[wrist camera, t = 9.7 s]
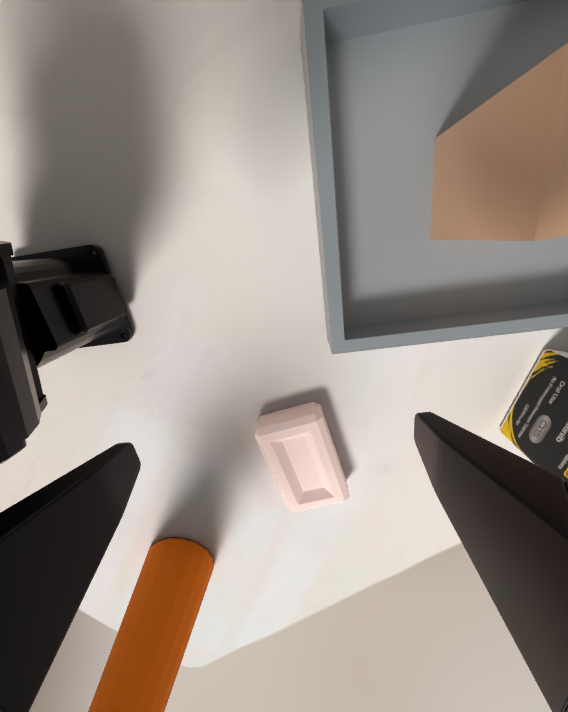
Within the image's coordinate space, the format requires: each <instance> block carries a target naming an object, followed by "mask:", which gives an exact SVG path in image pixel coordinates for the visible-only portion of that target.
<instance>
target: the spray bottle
mask: <svg viewBox="0 0 568 712" xmlns="http://www.w3.org/2000/svg"><path fill="white" fill-rule="evenodd" d="M213 568H214V566H213V560H212V556H211V555H210V554H209V553H208V551H207V550H206V549H205V548H203V547H202V546H200V545H199V544H197V543H196V542H193V541H189V540H186V539H181V538H169V539H165V540H161V541H158V542H157V543H156V544H154V545H153V546H152V547H151V548H150V549H149V551H148V554H147V557H146V559H145V562H144V565H143V567H142V570H141V573H140V575H139V578H138V581H137V583H136V586H135V589H134V591H133V594H132V597H131V599H130V602H129V605H128V607H127V610H126V613H125V615H124V618H123V621H122V623H121V626H120V629H119V631H118V634H117V637H116V639H115V642H114V645H113V647H112V650H111V653H110V655H109V658H108V661H107V663H106V666H105V669H104V671H103V674H102V677H101V679H100V682H99V685H98V687H97V690H96V693H95V695H94V698H93V701H92V703H91V706H90V709H89V711H88V712H164V711H165V707H166V705H167V702H168V699H169V696H170V693H171V690H172V687H173V684H174V681H175V678H176V676H177V673H178V670H179V667H180V664H181V661H182V658H183V655H184V652H185V649H186V647H187V644H188V641H189V638H190V635H191V632H192V629H193V626H194V623H195V620H196V617H197V615H198V612H199V609H200V606H201V603H202V600H203V597H204V594H205V591H206V588H207V585H208V583H209V580H210V577H211V574H212V571H213Z"/></svg>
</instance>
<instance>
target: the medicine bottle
mask: <svg viewBox="0 0 568 712" xmlns="http://www.w3.org/2000/svg"><path fill="white" fill-rule="evenodd" d="M500 431H501V433H502V434H504V435H505V436H506V437H507V438H508V439H509V440H510V441H511V442H512V443H513V444H514V445H515V446H516V447H517V448H518V449H519V450H520V451H521V452H523V453H524V454H525V455H526V456H527V457H528V458H529V459H530V460H531V461H532V462H533V463H534V464H535V465H537V466H539V467H541V468H543V469H545V470H547V471H549V472H551V473H553V474H555V475H557V476H559V477H561V478H563V480H564V481H565V480H567V481H568V352H563V351H557V350H551V349H546V350H544V351H543V352H542V354H541V355H540V357H539V359H538V361H537V363H536V364H535V366H534V368H533V370H532V371H531V373H530V375H529V377H528V379H527V380H526V382H525V384H524V386H523V387H522V389H521V391H520V393H519V395H518V396H517V398H516V400H515V402H514V403H513V405H512V407H511V409H510V411H509V412H508V414H507V416H506V418H505V420H504V421H503V423H502V425H501V427H500Z"/></svg>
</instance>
